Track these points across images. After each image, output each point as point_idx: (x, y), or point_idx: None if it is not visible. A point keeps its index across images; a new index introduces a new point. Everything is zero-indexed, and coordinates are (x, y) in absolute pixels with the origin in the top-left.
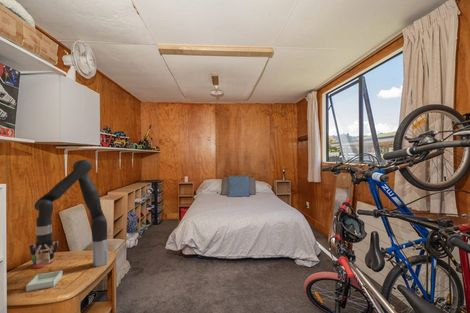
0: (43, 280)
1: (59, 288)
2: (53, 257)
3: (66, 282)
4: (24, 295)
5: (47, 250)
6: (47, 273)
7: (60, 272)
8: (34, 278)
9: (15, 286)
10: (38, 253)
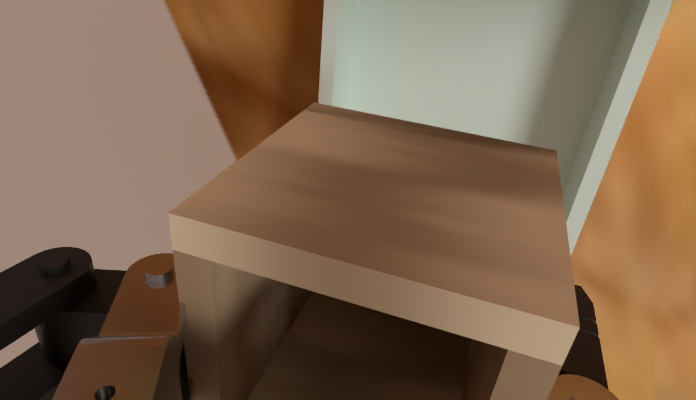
0: (430, 38)
1: (613, 301)
2: (578, 298)
3: (692, 217)
4: None
5: (379, 303)
6: None
7: (645, 60)
8: (333, 73)
9: (192, 4)
10: (204, 393)
